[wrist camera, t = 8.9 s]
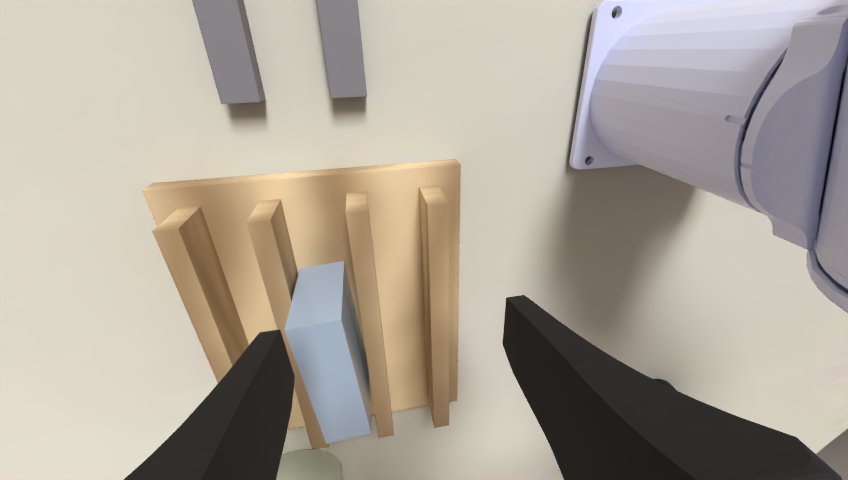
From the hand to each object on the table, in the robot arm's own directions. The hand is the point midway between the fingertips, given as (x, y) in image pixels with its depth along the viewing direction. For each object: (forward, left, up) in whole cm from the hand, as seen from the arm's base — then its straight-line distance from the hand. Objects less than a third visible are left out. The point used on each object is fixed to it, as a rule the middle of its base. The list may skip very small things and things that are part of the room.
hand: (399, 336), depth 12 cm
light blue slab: (+3, +6, -9) cm, 11 cm away
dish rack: (+3, +6, -10) cm, 12 cm away
